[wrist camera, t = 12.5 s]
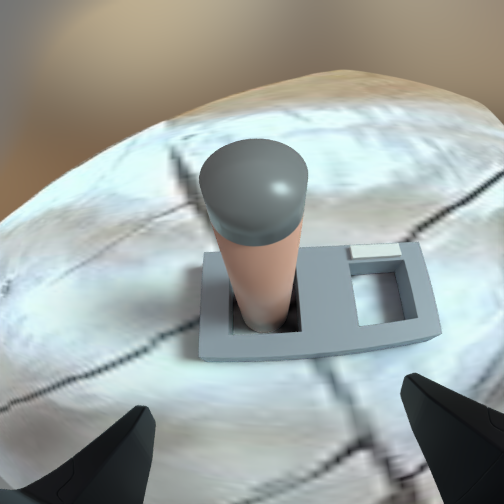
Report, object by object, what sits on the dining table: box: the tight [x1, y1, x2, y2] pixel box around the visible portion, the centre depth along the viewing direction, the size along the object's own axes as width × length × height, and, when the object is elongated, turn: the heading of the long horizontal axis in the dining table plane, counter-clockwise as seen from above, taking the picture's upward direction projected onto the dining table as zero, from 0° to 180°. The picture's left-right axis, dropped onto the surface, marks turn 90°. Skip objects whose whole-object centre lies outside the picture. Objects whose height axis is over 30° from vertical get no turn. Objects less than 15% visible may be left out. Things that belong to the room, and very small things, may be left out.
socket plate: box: [199, 242, 442, 362], centre depth 22 cm, size 20×9×3 cm, turn 91°
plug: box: [199, 139, 308, 333], centre depth 17 cm, size 4×4×16 cm
